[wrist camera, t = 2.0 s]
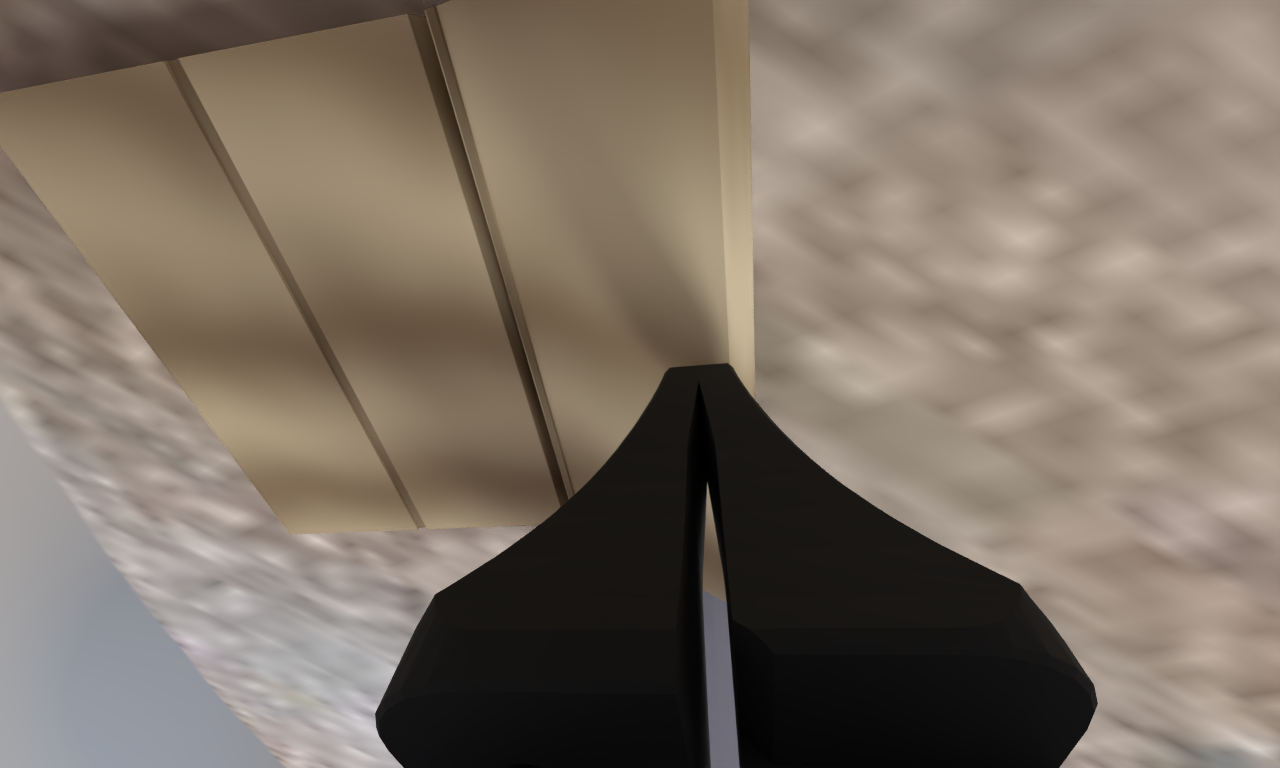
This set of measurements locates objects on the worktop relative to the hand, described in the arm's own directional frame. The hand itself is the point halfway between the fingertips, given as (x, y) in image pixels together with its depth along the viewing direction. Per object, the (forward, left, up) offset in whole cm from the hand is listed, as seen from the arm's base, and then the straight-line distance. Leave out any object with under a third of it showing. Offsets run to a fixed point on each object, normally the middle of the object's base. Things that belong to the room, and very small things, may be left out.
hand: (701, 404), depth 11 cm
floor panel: (0, +12, -5) cm, 13 cm away
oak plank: (0, +2, -3) cm, 4 cm away
